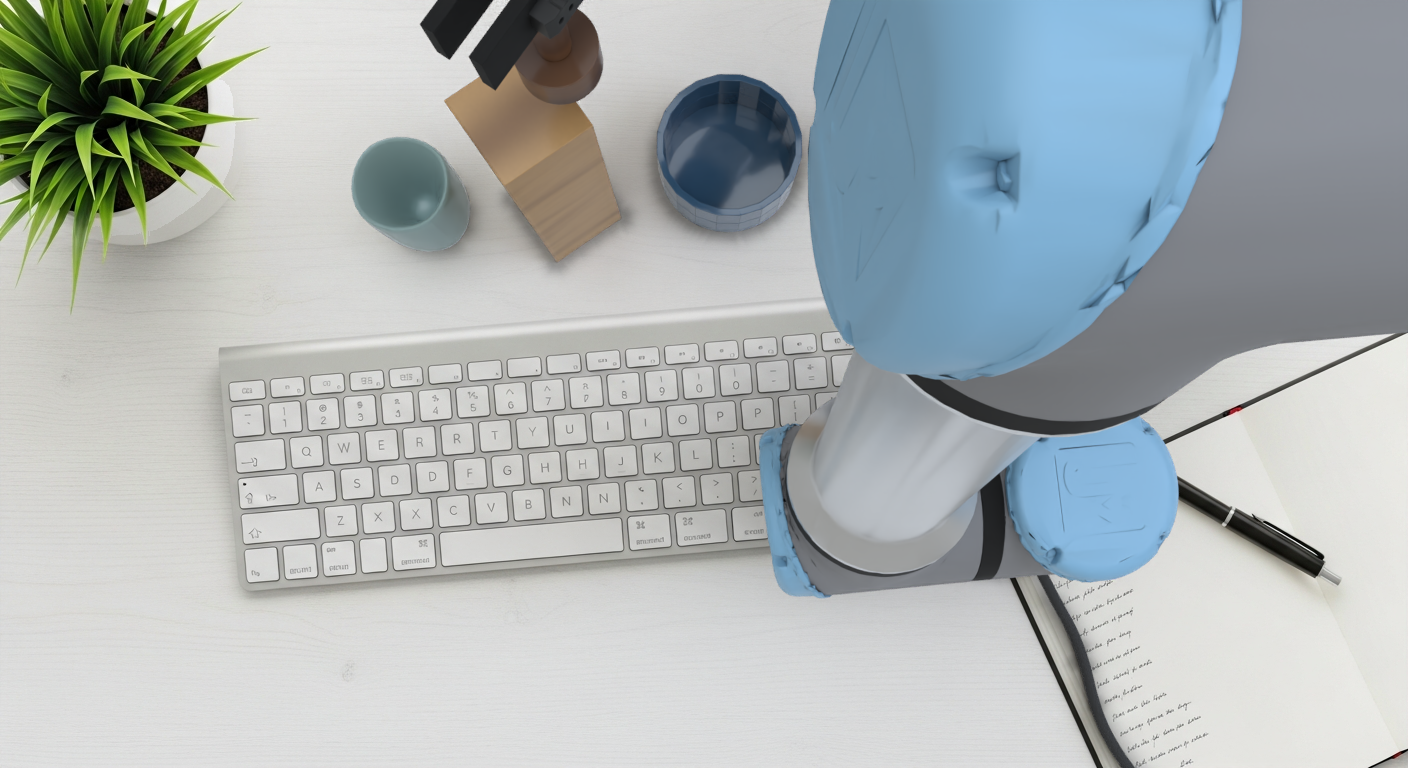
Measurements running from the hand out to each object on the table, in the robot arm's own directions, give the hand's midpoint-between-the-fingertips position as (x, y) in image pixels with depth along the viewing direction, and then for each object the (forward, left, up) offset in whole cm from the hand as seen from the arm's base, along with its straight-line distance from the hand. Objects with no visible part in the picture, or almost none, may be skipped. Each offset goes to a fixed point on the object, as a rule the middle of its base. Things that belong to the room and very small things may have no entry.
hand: (459, 57), depth 42 cm
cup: (+9, +8, -38) cm, 40 cm away
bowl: (-2, -16, -38) cm, 41 cm away
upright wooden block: (+3, -2, -38) cm, 38 cm away
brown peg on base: (+2, -5, -11) cm, 12 cm away
